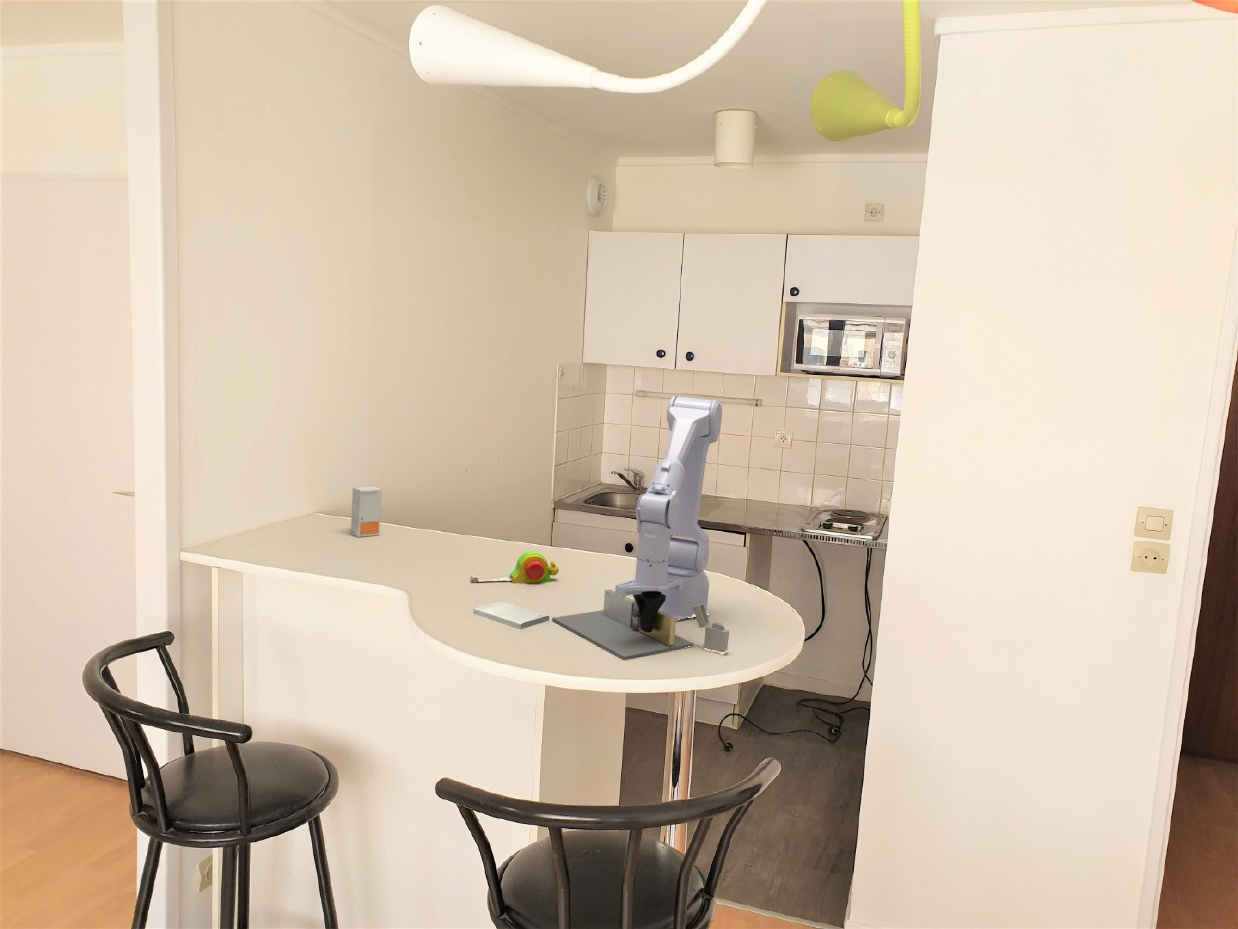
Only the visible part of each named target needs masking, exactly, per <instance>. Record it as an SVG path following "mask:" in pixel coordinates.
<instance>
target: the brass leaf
mask: <svg viewBox="0 0 1238 929" xmlns="http://www.w3.org/2000/svg"><path fill="white" fill-rule="evenodd" d="M633 600H634V608H633V615H634V616H637V617H640V612H639V609H638V606H637V603H636V601H635V599H633ZM676 625H677V621H676V617H673V616H671V615H669V614H667V613H664V612H662V611H660V610H659V611H658V613H657V615H656V617H655V619H654V625H653V630H652V632H649V633H647V632H645V631H642V630H640V629H639V631H640V632H643V633H645V634H647V635H649V636H651V637H653V638H655V639H657V640H659V641H661V642H663V643H665V644H667V645H674V638H675V635H676V627H677V626H676Z"/></svg>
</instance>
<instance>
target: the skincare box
mask: <svg viewBox="0 0 1238 929" xmlns="http://www.w3.org/2000/svg"><path fill="white" fill-rule="evenodd" d="M382 491H383V490H382V488H379V487H376V486H360V487H352V498H351V499H352V500H351V519H350V520H351V521H350V535H353V536H354V537H357V538H361V537H375V536H380V531H381V530H380V528H381V527H380V526H381V512H382V511H381V508H382Z"/></svg>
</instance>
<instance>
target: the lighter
mask: <svg viewBox="0 0 1238 929" xmlns="http://www.w3.org/2000/svg"><path fill="white" fill-rule="evenodd" d="M693 609H694V612H695V615H696V618H695V619H696V622H697V626H698V628H699V629H700V628H705V629H704V630H705V631H704V639H703V640H704V642H703V649H704V648H707V649H710V650H716V651H719V652H725V651H726V650H727V651H728V646H729V636H730V629H726V628H725V625H724V624H723V623H722V622H718V621H713V622H711V624H710V619H709V617H708V616H709V615H708V616H707V613H706V610H705V606H704V604H703V603H701V604H697V605H694V606H693Z"/></svg>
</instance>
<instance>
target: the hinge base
mask: <svg viewBox="0 0 1238 929" xmlns="http://www.w3.org/2000/svg"><path fill="white" fill-rule="evenodd" d="M603 598H604V600H603V610H596V611H588V612H583V613H574V614H569V615H562V616H554V617H552V618H551V621H552V622H554V623H556V624H557V625H559V626H561V627H562V628H564V629H565V630H566V629H567V631H568V630H569V631H571V633H574V634H576V635H577V636H579V637H581V638H583V639H584V640H586V641H588V642H590V643H592V644H594V645H596V646H597V647H599V648H601V649H602V650H605V651H607V652H609V653H610V654H612V655H614V656H616V657H618V658H619V659H621V660H622V661H625V660H626V661H627V660H630V659H637V658H642V657H648V656H650V655H651V656H652V655H658V654H661V653H666V652H672V650H673V651H677V650H683V649H682V648H684V649H686V648H685V647H688V646H692V645H693V646H694V643H693V642H692V641H690V640H687V639H685V638H684V637H681V636H679V635H676V634H675V638H674V645H667V644H665V643H663V642H661V641H659V640H657V639H655V638H653V637H651V636H649V635H647V634H645V633H643V632H640V631H639V629H640V617H637V616H634V615H633V608H634V600H635V599H632V598H631V597H628V596H626V597H623V598H621V597H619V596H617V595H615V591H614V590H613V589H609V588H608V589H604V597H603Z"/></svg>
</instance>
